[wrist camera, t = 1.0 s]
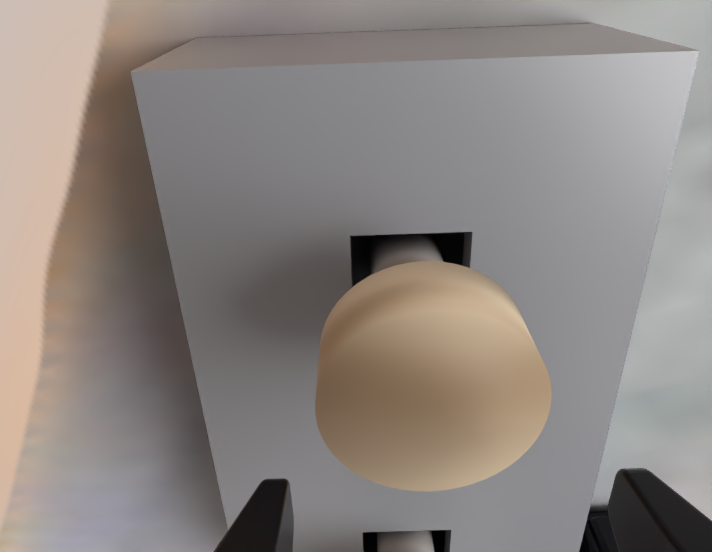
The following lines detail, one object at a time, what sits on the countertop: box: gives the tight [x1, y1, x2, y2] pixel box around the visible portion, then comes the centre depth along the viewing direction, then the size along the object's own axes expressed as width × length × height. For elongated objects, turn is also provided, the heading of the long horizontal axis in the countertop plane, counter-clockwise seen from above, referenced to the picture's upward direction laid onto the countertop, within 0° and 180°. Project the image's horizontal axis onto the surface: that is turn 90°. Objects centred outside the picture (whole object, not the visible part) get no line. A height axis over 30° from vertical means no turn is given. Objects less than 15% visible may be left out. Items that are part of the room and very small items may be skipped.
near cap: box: [315, 233, 552, 491], centre depth 14 cm, size 4×4×7 cm
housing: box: [130, 23, 699, 552], centre depth 20 cm, size 22×12×6 cm, turn 2°
